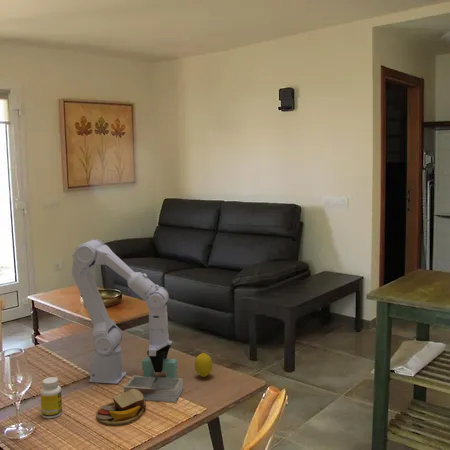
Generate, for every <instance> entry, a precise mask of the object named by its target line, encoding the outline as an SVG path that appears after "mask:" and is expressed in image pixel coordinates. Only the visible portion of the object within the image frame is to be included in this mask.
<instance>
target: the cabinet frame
mask: <svg viewBox="0 0 450 450" xmlns="http://www.w3.org/2000/svg"><path fill="white" fill-rule="evenodd" d="M183 381H184V380H183V378H181V377H179V378H178V377H177V378H167V377H166V376H165V377H163V376H154V377H151V376H143V375H132V377H131V378H130V379H129V380H128V382H127V383H126V384H125V385H123V393H125V392H127V391H129V390H130V389H136V390H138V391H140V392H141V393H142V394H143V397H144V400H145V401H151V402H164V403H165V402H167V403H177V401H178V399H179V397H180V396H181V394H182V392H183V391H184V382H183Z"/></svg>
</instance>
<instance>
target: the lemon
mask: <svg viewBox="0 0 450 450" xmlns="http://www.w3.org/2000/svg"><path fill="white" fill-rule="evenodd" d="M194 369H195V372H196V373H197V374H198V375H199V376H200V377H202V378H206V376H208V375H210V374H211V372H212V370H213V361H212V358H211V356H210V355H209V354H208V353H205V352H202V353H199V354H198V355H197V356H196V358H195V360H194Z"/></svg>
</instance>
